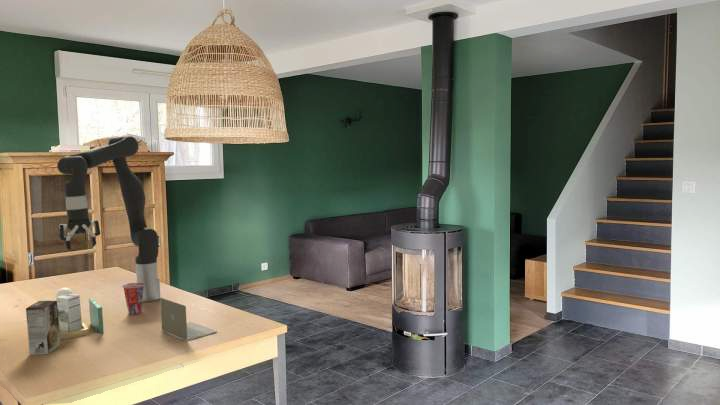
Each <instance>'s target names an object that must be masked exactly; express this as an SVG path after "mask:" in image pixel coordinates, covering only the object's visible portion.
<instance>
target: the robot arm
mask: <svg viewBox="0 0 720 405" xmlns="http://www.w3.org/2000/svg"><path fill="white" fill-rule="evenodd" d="M107 144H108V145H104V146H99V147H94V148H91V149H87V150H85V151H83V152H80V153H74V154H69V155H65V156H63V157H61V158H60V159H59V160H58V162H57V166H56V168H57V170H58V171H59V172H60V173H61V174H63V175H66V176H67V175H69V176H70V175H71V176H72V178H71V180H68V181H66V182H65V183H64V191H65V192H64V194H65V210H66V218H67V223H64V224H62V223H59V224H58V239H59V240H61V241H64V242H65V248H66V249H67V250H68V251H72V245H71V238H72V237H73V236H74V234H75V235H76V234H78V235H79V234H85V233H87V234H88V235H90V236H91V237H90V242H91V247H92V248H95V247H96V246H97V239H96V238H97V237H98V236H100V235H101V230H100V224H99V223H100V222H99V220H97V219H94V220H90V215H89V213H90V212H89V204H88V198H87V194H86V185H85V184H86V180H87V176H88V171H89V170H88V169H92V168H95V167H98V166H100V165H103V164H105V163H107V162H110V161H112V163H113V164H112V165H113V167H114V169H115V172H116V175H117V179H118V183H119V187H120V191H121V192H120V193H121V195H122V196H121V197H122V200H123V203H124V208H125V212H126V215H127V218H128V220H127V221H128V224H129V233H130V238H131V242H132V244H134V246H136V247H138V255H137V256H135V259H134V260H135V276H136V279H135V280H136V283H144V289H143V302H147V303H148V302H154V301H157V300H161V299H160V298H161V285H160V284H161V282H160V281H161V280H160V278H159V275H158V274H159V271H158V257H159V236H158V233H157V231H156V230H155V229H153V228H150V227H148V225H147V222H146V218H145V206H146V194H145V191H144V187H143V186H144V185H143V184H142V181H141V180H140V179H139V178H138V176H137V175H136V174H135V173H134V172H133V171H132V170H131V168H130V167H129V164H128V161H127V158H128V157H133V156H134V155H136V154H137V153H138V151H139V143H138V140H137V139H136V137H134V136H132V135H121V136H114V137H113V136H112V137H111V138H110V139H109V140H108V143H107ZM91 225H92V226H93V227H94V230H95V232H93V231H92V230H91V229H90V227H91ZM66 228H68V230H69V231H68V232H67V233H66V236H65V233H64V232H65V230H66Z"/></svg>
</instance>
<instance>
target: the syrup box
mask: <svg viewBox="0 0 720 405" xmlns="http://www.w3.org/2000/svg"><path fill="white" fill-rule="evenodd" d="M55 297H56V296H55ZM80 297H81V296H80V294H74V293H73V294H65V295H62V296H59V297H56V299H55V300H56V301H57V308H58V320H59V333H65V332H71V331H76V330H81V329H82V312H81V311H82V310H81V298H80Z"/></svg>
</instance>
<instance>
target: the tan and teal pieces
mask: <svg viewBox="0 0 720 405" xmlns="http://www.w3.org/2000/svg"><path fill="white" fill-rule="evenodd" d="M88 304H89V317H90V318H89V319H90V320H89V321H90V325H91V327H93V329H94V330H95V331H96V332H97V333H98V334H99V335H102V334H104V316H103V306H102V305H101V304H99V303H98V302H97V301H96V300H95V299H94V298H90V299H88ZM89 330H90V329H89V327H88V326H87V325H86V323H84V322H82V329H81V330H76V331H71V332H65V333H60V341H61V340H65V339H71V338H77V337H81V336H87V335H90V331H89Z"/></svg>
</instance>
